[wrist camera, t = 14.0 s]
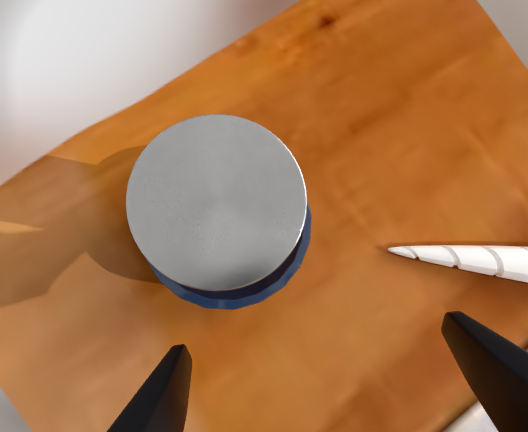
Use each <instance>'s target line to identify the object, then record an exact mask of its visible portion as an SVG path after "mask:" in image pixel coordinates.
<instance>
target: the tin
mask: <svg viewBox="0 0 528 432" xmlns="http://www.w3.org/2000/svg"><path fill="white" fill-rule="evenodd" d="M126 212H127V220H128V223H129V227H130V231H131V233H132V235H133V238H134V240H135V242H136V244H137V246H138V247H139V249H140V251H141V252H142V254H143V255H144V256H145V257H146V259H147V260H148V261H149V262H150V263H151V264H152V265H153V266H154V267H155V268H156V269H157V270H158V271H160V272H161V273H163V274H164V275H166V276H167V277H168V278H170V279H172V280H174V281H176V282H178V283H180V284H183V285H186V286H188V287H191V288H196V289H201V290H209V291H224V290H232V289H237V288H241V287H244V286H247V285H250V284H253V283H255V282H257V281H259V280H261V279H263V278H264V277H266V276H267V275H269V274H270V273H272V272H273V271H274V270H275V269H277V268H278V267H279V266H280V265H281V264H282V263H283V262H284V261H285V260H286V258H287V257H288V256H289V255H290V253H291V252H292V250H293V249H294V247H295V246H296V244H297V242H298V240H299V238H300V236H301V233H302V230H303V227H304V223H305V219H306V213H307V192H306V187H305V181H304V178H303V175H302V172H301V170H300V167H299V165H298V163H297V161H296V159H295V158H294V156H293V155H292V153H291V152H290V150H289V149H288V148H287V147H286V146H285V144H284V143H283V142H282V141H281V140H280V139H279V138H278V137H277V136H275V135H274V134H273V133H271V132H270V131H269V130H267V129H266V128H264V127H262V126H261V125H259V124H257V123H255V122H252V121H250V120H247V119H244V118H241V117H237V116H231V115H224V114H210V115H201V116H197V117H192V118H189V119H186V120H183V121H181V122H178V123H176V124H174V125H172V126H170V127H169V128H167V129H166V130H164V131H163V132H161V133H160V134H159V135H158V136H156V137H155V138H154V139H153V140H152V141H151V142H150V143H149V144H148V145H147V147H146V148H145V149H144V150H143V151H142V153H141V155H140V156H139V158H138V159H137V161H136V163H135V165H134V167H133V170H132V172H131V175H130V178H129V182H128V186H127V193H126Z"/></svg>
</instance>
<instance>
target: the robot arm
mask: <svg viewBox="0 0 528 432" xmlns="http://www.w3.org/2000/svg"><path fill="white" fill-rule="evenodd" d="M441 331H442V334H443V336H444V338H445V340H446V342H447V344H448V346H449V348H450V350H451V352H452V354H453V356H454V358H455V360H456V362H457V363H458V365H459V367H460V369H461V371H462V373H463V375H464V377H465V379H466V380H467V382H468V384H469V386H470V387H471V389H472V391H473V392H474V394H475V395H476V397H477V398H478V400H479V402H480V403H481V405H482V406H483V408H484V409H485V411H486V413H487V414H488V416H489V417H490V419H491V420H492V422H493V424H494V425H495V427H496V428H497V430H498V431H499V432H528V352H527V351H525V350H523V349H522V348H520V347H519V346H517V345H515V344H514V343H512V342H510V341H509V340H507V339H505V338H504V337H502V336H500V335H499V334H497V333H495V332H494V331H492V330H491V329H489V328H487V327H486V326H484V325H482V324H481V323H479V322H477V321H476V320H474V319H472V318H471V317H469V316H467V315H466V314H464V313H462V312H460V311H453V312H447V313H445V316H444V319H443V323H442V327H441ZM191 370H192V358H191V356H190V354H189V352H188V350H187V347H186V346H185V345H184V344H182V345H175V346H173V347H171V349H170V350H169V351H168V353H167V354H166V355H165V356H164V358H163V359H162V360H161V362H160V363H159V364H158V366H157V367H156V368H155V369H154V371H153V372H152V373H151V375H150V376H149V377H148V379H147V380H146V381H145V382H144V384H143V385H142V386H141V388H140V389H139V390H138V392H137V393H136V394H135V395H134V397H133V398H132V399H131V401H130V402H129V403H128V405H127V406H126V407H125V409H124V410H123V411H122V412H121V414H120V415H119V416H118V418H117V419H116V420H115V422H114V423H113V424H112V425H111V427H110V428H109V429H108V431H107V432H183V430H184V425H185V420H186V415H187V407H188V398H189V389H190V380H191Z"/></svg>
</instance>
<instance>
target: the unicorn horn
mask: <svg viewBox="0 0 528 432" xmlns="http://www.w3.org/2000/svg"><path fill="white" fill-rule="evenodd" d="M388 250H389V251H390V252H393V253H396V254H399V255H402V256H406V257H410V258H416V257H419V259H420V260H422V261H426V262H431V263H435V264H440V265H444V266H449V267H453V265H457V266H458V269H463V270H467V271H472V272H477V273H482V274H487V275H494V274H495V275H496V276H497V277H501V278H506V279H511V280H517V281H522V282H527V283H528V247H516V246H464V245H439V246H437V245H436V246H400V247H393V248H389V249H388Z"/></svg>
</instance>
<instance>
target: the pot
mask: <svg viewBox="0 0 528 432" xmlns="http://www.w3.org/2000/svg"><path fill="white" fill-rule="evenodd" d="M310 233H311V212H310V208H309V204H308V200H307V213H306V219H305V223H304V227H303V230H302V233H301V236H300V238H299V240H298V242H297V244H296V246H295V247H294V249H293V250H292V252H291V253H290V255H289V256H288V257H287V258H286V260H285V261H284V262H283V263H282V264H281V265H280V266H279V267H278V268H277V269H275V270H274V271H273V272H272V273H270V274H269V275H267V276H266V277H264V278H263V279H261V280H259V281H257V282H255V283H253V284H250V285H247V286H244V287H241V288H237V289H232V290H224V291H209V290H201V289H196V288H191V287H188V286H186V285H183V284H180V283H178V282H176V281H174V280H172V279H170V278H168V277H167V276H166V275H164V274H163V273H161V272H160V271H158V270H157V269H156V268H155V267H154V266H153V265H152V264H151V263H150V262H149V261H148V260H147V259H146V260H147V261H148V263H149V265H150V267H151V268H152V270H153V272H154V273H155V275H156V277H157V278H158V279H159V281H160V282H162V283H163V284H164V285H165V286H166V287H167V288H169V289H170V290H171V291H172V292H173V293H175V294H176V295H177V296H178V297H180V298H181V299H184V300H186V301H189V302H191V303H194V304H196V305H199V306H202V307H204V308H211V309H232V310H234V309H238V308H242V307H245V306H249V305H253V304H256V303H260V302H262V301H264V300H265V299H267V298H268V297H270V296H271V295H273V294H274V293H276V292H277V291H279V290H280V289H282V288H283V287H284V286H285V285H286V284H287V283H288V281H289V280H290V279H291V277H292V276H293V275H294V274H295V272H296V271H297V270H298V269H299V267H300V265H301V264H302V261H303V259H304V256H305V253H306V251H307V248H308V245H309V243H310ZM145 258H146V257H145Z"/></svg>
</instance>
